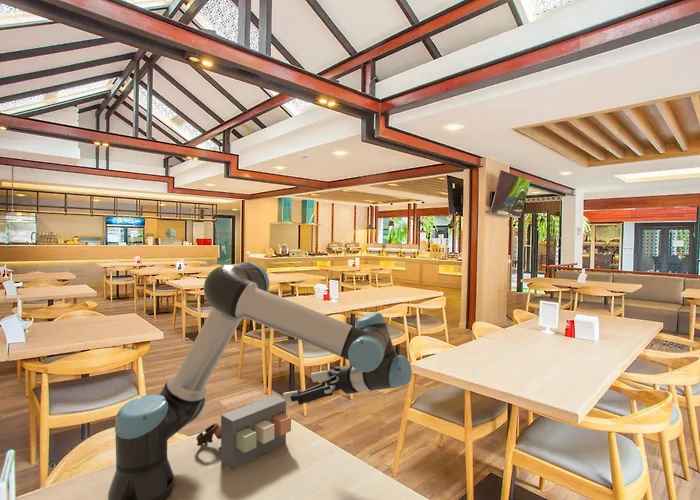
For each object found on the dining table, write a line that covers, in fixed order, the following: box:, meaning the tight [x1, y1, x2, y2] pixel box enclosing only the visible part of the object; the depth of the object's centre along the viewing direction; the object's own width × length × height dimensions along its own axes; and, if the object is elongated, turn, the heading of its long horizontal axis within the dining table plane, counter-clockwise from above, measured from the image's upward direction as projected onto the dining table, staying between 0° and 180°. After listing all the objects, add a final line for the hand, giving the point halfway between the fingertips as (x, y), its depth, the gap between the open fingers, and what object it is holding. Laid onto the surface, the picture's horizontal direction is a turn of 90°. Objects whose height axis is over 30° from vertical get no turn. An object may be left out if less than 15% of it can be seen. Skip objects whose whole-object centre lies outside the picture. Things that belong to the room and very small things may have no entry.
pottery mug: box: [195, 422, 221, 452], centre depth 124 cm, size 12×10×8 cm
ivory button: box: [255, 419, 274, 444], centre depth 118 cm, size 4×5×4 cm
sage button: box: [236, 427, 256, 453], centre depth 113 cm, size 4×5×4 cm
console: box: [220, 395, 287, 470], centre depth 121 cm, size 20×6×14 cm, turn 139°
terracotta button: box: [272, 413, 292, 435], centre depth 122 cm, size 4×5×4 cm
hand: (299, 387), depth 117 cm, fingers open, 13 cm apart
